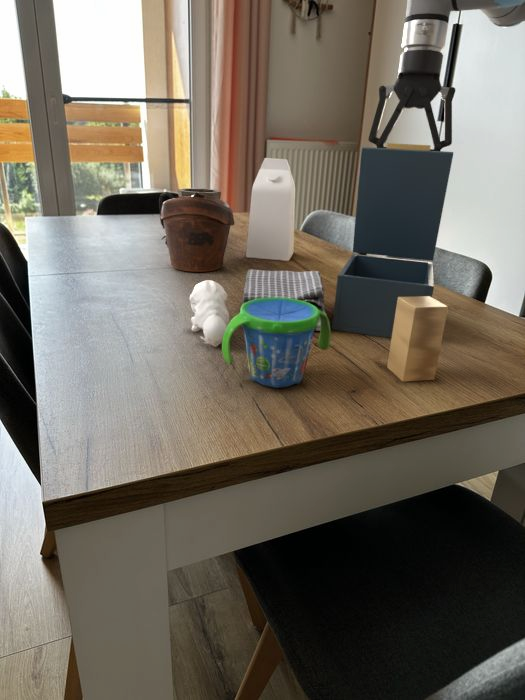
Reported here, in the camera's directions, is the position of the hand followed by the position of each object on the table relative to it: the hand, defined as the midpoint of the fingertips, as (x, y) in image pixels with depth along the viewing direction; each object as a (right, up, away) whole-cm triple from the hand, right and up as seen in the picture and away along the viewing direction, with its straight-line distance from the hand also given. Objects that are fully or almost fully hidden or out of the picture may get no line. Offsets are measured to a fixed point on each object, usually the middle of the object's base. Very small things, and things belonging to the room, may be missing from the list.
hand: (403, 183), depth 101 cm
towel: (-24, -26, -4) cm, 36 cm away
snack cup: (-26, -37, -29) cm, 54 cm away
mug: (-51, +3, +64) cm, 82 cm away
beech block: (-6, -36, -26) cm, 45 cm away
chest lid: (-2, -6, -5) cm, 8 cm away
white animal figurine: (-36, -31, -16) cm, 50 cm away
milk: (-25, -6, +47) cm, 54 cm away
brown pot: (-44, -12, +29) cm, 55 cm away
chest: (-5, -27, -3) cm, 28 cm away
